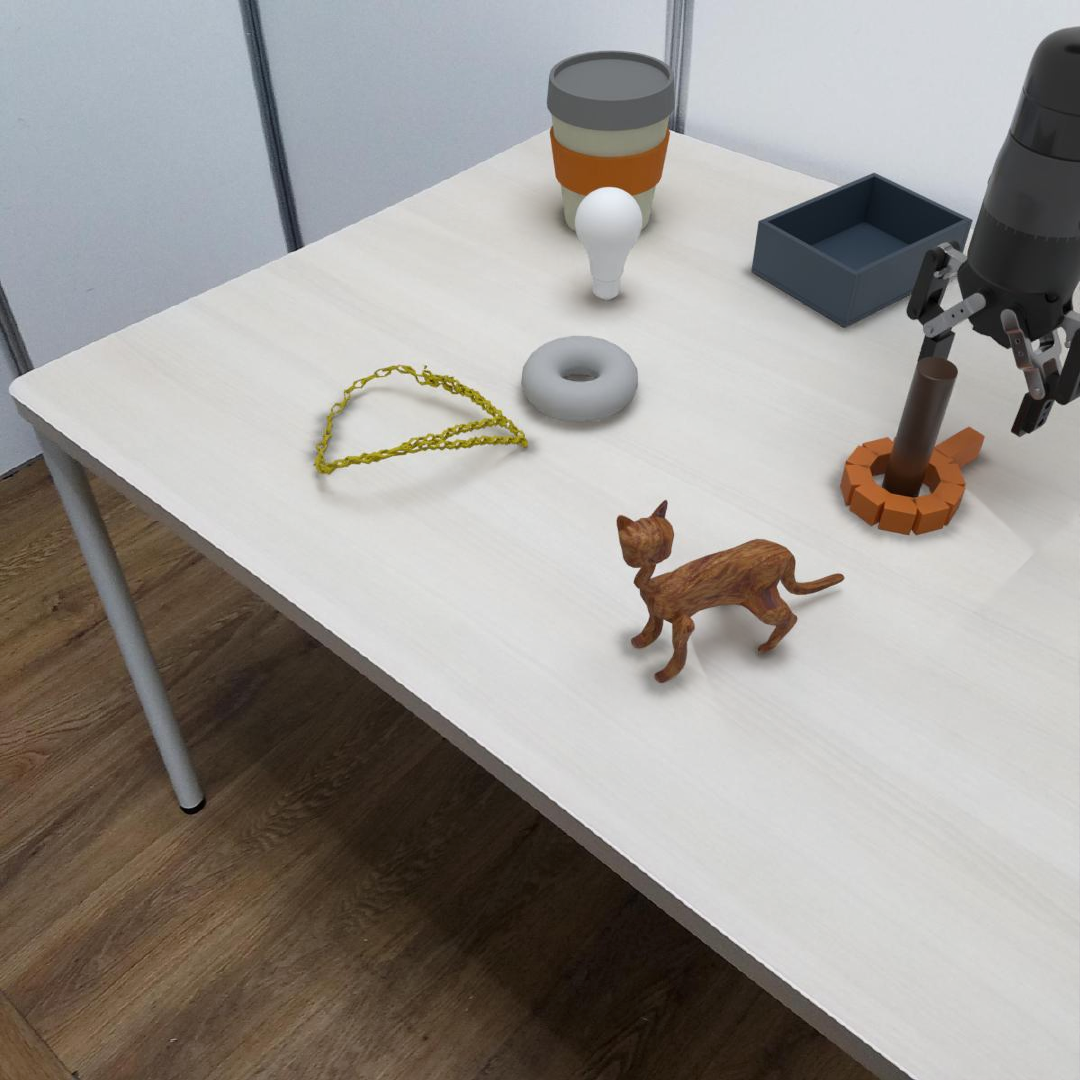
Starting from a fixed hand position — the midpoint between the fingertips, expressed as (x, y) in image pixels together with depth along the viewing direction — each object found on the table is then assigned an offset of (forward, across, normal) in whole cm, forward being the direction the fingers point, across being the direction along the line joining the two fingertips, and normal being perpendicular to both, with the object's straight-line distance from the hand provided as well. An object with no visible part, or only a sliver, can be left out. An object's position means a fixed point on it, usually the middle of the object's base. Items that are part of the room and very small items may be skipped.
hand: (974, 402), depth 81 cm
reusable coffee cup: (+6, +47, -2) cm, 48 cm away
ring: (+6, 0, +5) cm, 7 cm away
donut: (+6, +25, +19) cm, 32 cm away
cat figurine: (+6, -2, +26) cm, 27 cm away
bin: (+6, +24, -15) cm, 29 cm away
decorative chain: (+6, +28, +33) cm, 43 cm away
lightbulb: (+6, +35, +8) cm, 37 cm away
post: (+6, 0, +7) cm, 9 cm away
